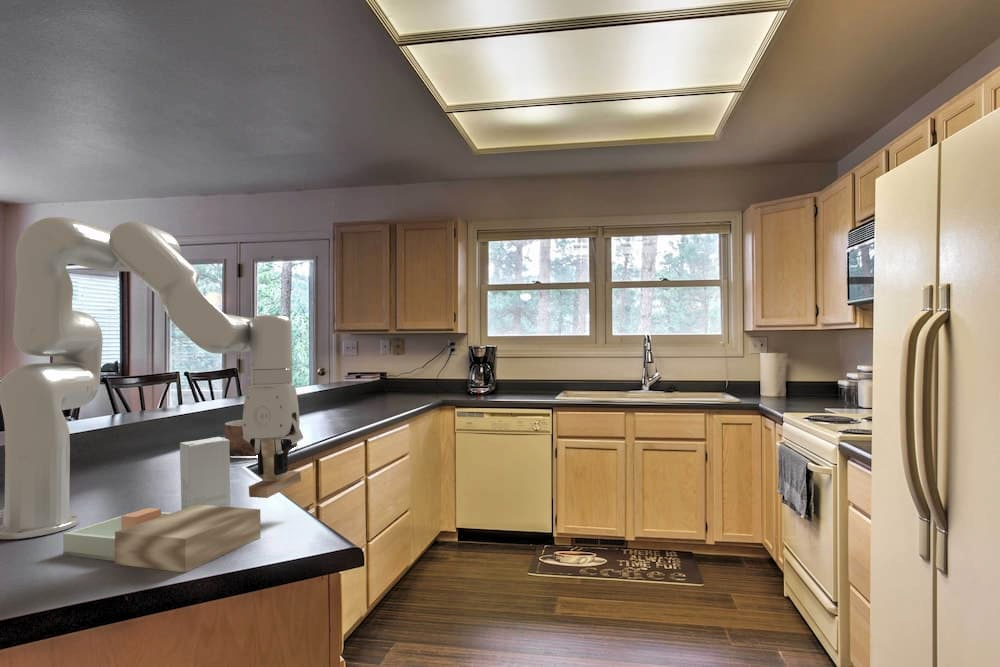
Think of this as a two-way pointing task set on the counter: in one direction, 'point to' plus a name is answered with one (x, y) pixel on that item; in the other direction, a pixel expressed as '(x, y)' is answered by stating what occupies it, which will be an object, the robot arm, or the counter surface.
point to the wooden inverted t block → (272, 473)
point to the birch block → (186, 537)
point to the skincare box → (205, 472)
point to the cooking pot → (239, 440)
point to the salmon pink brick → (139, 517)
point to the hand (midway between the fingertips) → (272, 472)
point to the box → (94, 540)
